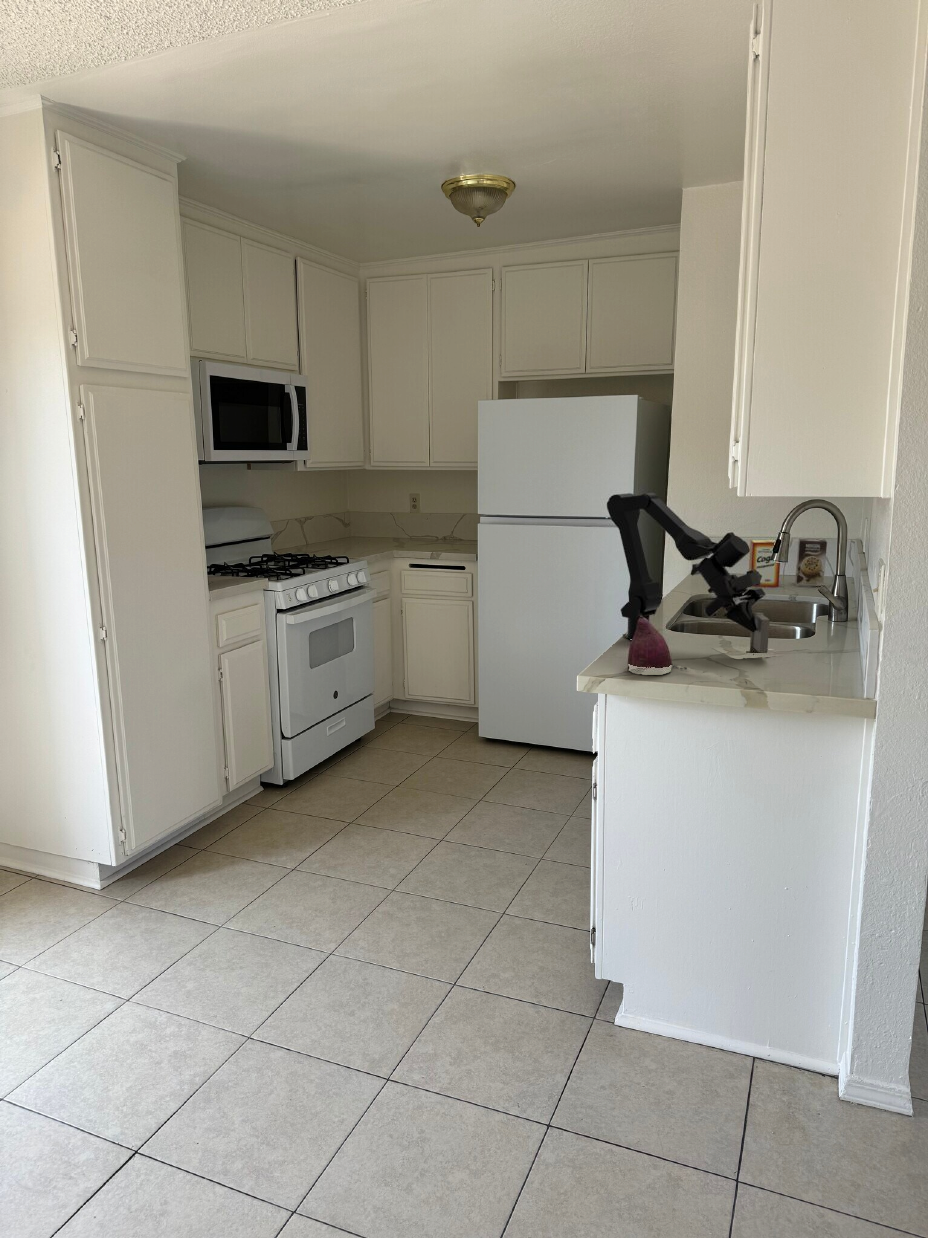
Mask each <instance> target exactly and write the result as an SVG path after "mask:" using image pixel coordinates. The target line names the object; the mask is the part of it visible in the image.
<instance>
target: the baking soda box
mask: <svg viewBox="0 0 928 1238" xmlns="http://www.w3.org/2000/svg"><path fill="white" fill-rule="evenodd" d="M774 543H775V539H750V545H749V549H750V552H749V559H748V561H749V562H748V571H751V570H753V569H756V570H757V571H758V572H759V574H760V575H762V578H761V581H760V583H761V585H758V586H757V585H755V586H754V587H753V588H762V587H763V588H764V587H765V588H766V587H767V588H779V587H780V585H779V584H780V570H781V562H780V563H776V562H774V561H772V560H771V555H772V549H773V546H774Z"/></svg>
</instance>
